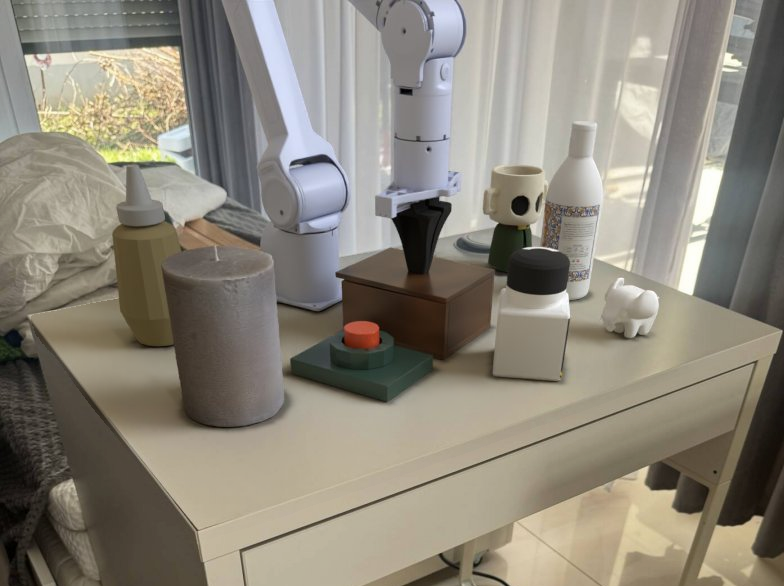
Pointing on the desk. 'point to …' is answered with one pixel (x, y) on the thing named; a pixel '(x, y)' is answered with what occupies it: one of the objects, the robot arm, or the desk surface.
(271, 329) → the pillar candle
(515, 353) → the medicine bottle
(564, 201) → the bath foam
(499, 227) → the character mug
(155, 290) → the squeeze bottle
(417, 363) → the button block
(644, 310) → the elephant figurine
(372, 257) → the lid
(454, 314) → the box
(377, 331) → the button
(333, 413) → the desk surface
